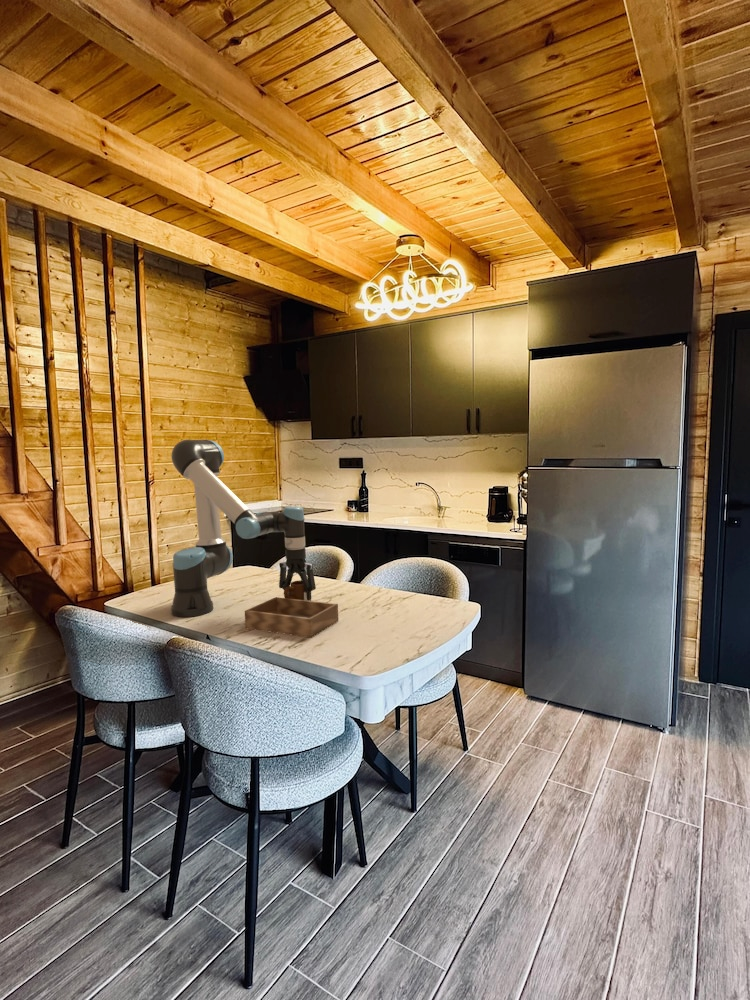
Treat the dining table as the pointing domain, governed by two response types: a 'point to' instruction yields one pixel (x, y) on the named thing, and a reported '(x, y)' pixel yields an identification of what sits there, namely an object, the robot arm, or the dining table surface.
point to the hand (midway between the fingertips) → (298, 607)
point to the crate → (278, 620)
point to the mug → (295, 590)
